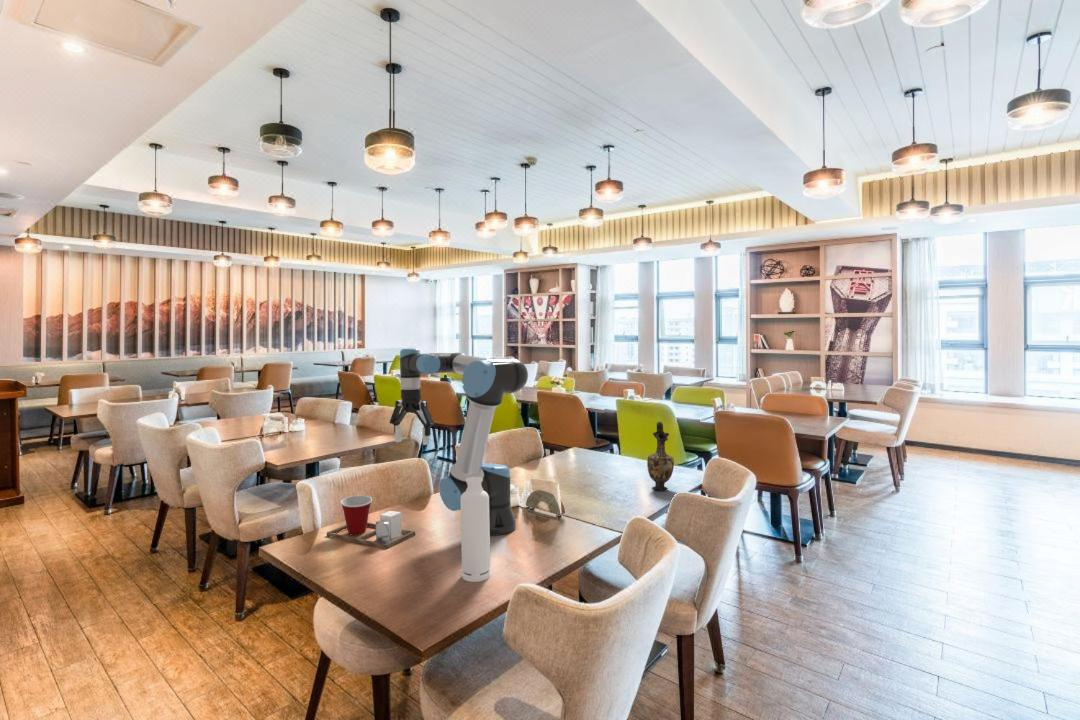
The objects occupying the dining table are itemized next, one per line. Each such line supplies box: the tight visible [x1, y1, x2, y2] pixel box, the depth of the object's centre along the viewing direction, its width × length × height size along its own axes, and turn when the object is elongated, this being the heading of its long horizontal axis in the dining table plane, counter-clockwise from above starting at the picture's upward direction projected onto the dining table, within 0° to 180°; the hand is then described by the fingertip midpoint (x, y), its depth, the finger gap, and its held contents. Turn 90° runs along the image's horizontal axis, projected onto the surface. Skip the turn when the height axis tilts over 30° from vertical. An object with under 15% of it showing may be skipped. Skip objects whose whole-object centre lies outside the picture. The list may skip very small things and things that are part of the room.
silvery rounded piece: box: [375, 519, 391, 544], centre depth 178 cm, size 4×4×7 cm
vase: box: [646, 421, 675, 492], centre depth 237 cm, size 12×12×30 cm
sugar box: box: [379, 510, 403, 541], centre depth 184 cm, size 5×5×8 cm
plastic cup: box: [340, 495, 373, 536], centre depth 188 cm, size 11×11×12 cm
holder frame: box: [326, 521, 416, 550], centre depth 185 cm, size 28×14×1 cm, turn 63°
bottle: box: [460, 477, 491, 583], centre depth 151 cm, size 8×8×28 cm
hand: (412, 443), depth 204 cm, fingers open, 13 cm apart
